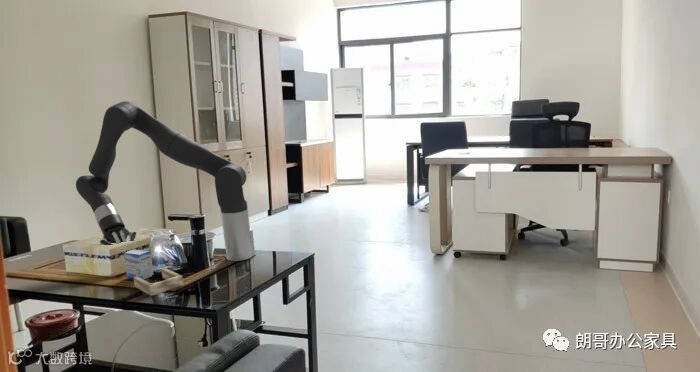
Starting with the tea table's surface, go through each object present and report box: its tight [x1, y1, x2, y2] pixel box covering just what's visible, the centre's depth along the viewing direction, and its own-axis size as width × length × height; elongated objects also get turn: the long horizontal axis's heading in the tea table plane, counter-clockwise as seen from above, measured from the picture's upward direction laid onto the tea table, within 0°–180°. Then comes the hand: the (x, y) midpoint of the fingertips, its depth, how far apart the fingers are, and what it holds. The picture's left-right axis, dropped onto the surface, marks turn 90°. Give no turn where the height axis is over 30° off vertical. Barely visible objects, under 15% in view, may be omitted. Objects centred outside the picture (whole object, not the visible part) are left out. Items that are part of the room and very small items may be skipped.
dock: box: [132, 267, 184, 297], centre depth 165 cm, size 10×12×3 cm
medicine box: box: [124, 249, 154, 280], centre depth 175 cm, size 8×4×9 cm, turn 62°
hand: (128, 259), depth 181 cm, fingers closed
